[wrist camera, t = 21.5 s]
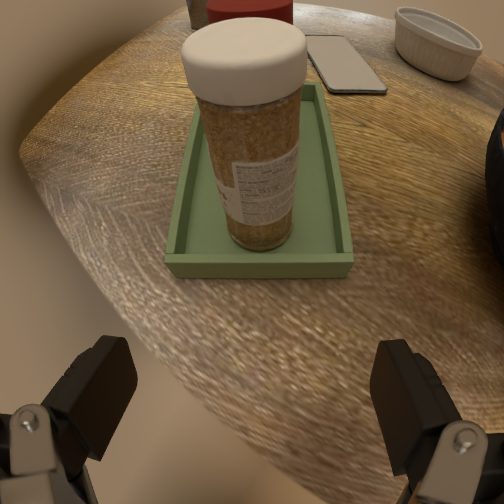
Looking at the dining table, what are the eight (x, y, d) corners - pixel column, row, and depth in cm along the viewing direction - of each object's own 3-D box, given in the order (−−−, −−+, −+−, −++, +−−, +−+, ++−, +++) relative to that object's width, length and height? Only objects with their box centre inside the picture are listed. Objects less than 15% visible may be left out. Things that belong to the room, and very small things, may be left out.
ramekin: (391, 67, 30) (401, 23, 24) (385, 34, 36) (391, -1, 29) (478, 99, 28) (495, 61, 22) (458, 58, 33) (468, 27, 27)
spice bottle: (228, 176, 23) (196, 15, 11) (236, 135, 25) (214, -8, 13) (289, 178, 22) (293, 11, 11) (290, 137, 24) (292, -10, 12)
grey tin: (189, 31, 38) (178, -21, 29) (195, 22, 40) (185, -26, 31) (213, 28, 38) (204, -25, 29) (218, 20, 39) (210, -30, 30)
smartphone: (343, 35, 33) (389, 91, 27) (343, 38, 34) (388, 95, 27) (296, 35, 33) (330, 90, 27) (296, 38, 34) (329, 94, 27)
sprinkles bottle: (224, 201, 22) (181, 23, 10) (287, 192, 22) (290, 10, 10) (230, 259, 20) (174, 71, 8) (300, 249, 20) (326, 54, 8)
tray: (345, 277, 19) (354, 262, 17) (175, 278, 20) (163, 262, 18) (318, 102, 27) (320, 81, 25) (205, 105, 28) (201, 85, 26)
